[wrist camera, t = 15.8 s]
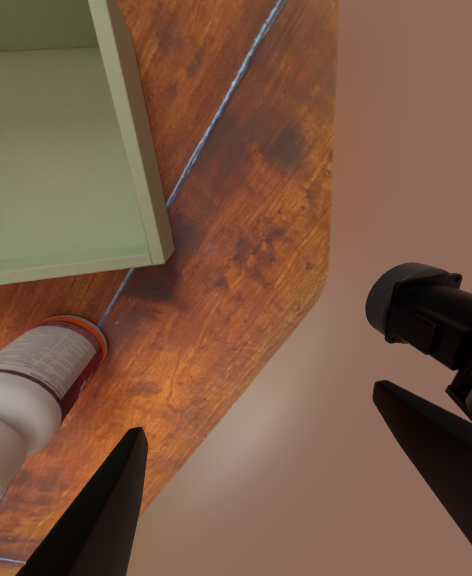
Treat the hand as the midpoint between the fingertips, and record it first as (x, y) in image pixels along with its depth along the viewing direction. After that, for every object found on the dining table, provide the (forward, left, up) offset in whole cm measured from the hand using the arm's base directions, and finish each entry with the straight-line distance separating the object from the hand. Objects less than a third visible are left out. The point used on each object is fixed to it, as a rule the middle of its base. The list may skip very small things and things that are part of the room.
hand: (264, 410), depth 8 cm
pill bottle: (+15, +3, -13) cm, 20 cm away
